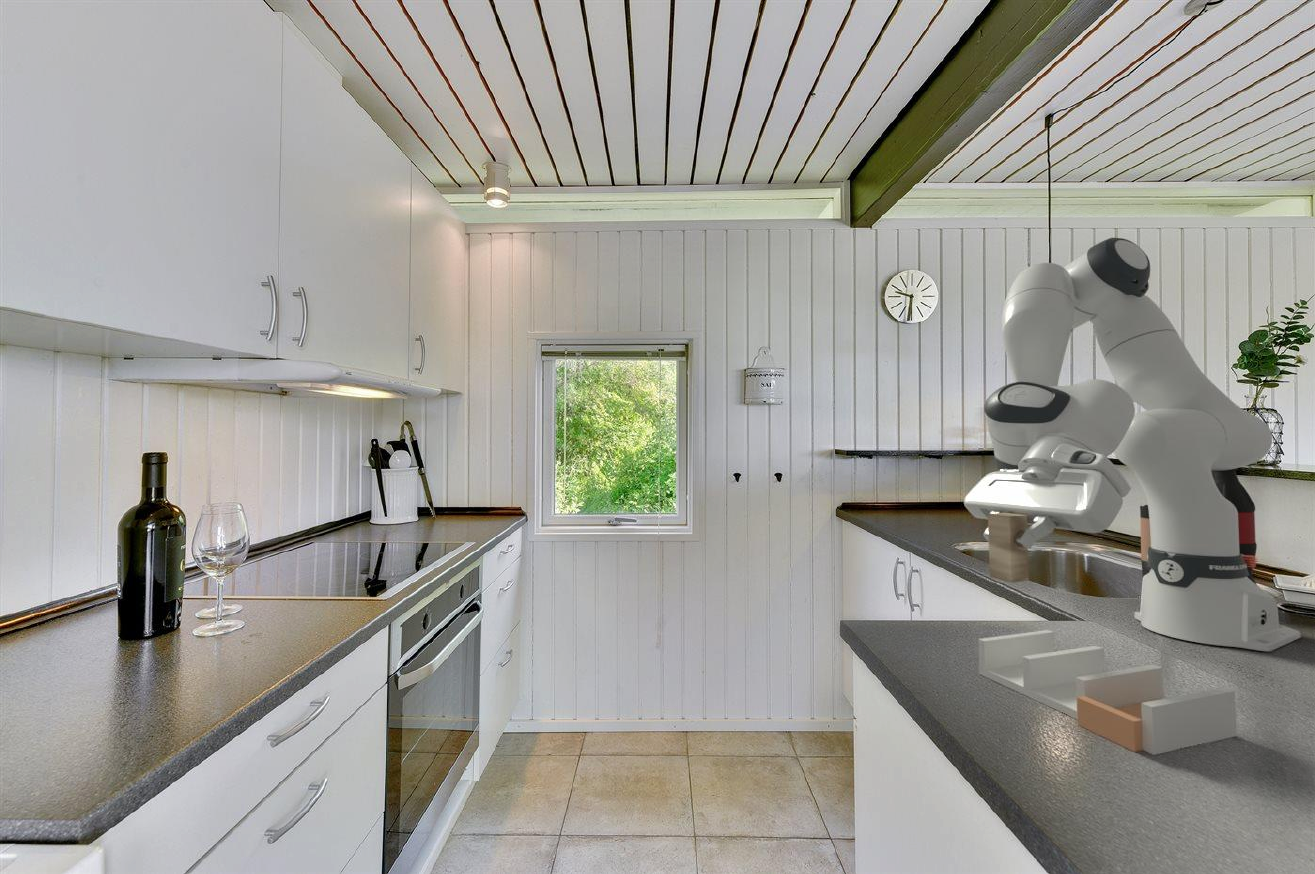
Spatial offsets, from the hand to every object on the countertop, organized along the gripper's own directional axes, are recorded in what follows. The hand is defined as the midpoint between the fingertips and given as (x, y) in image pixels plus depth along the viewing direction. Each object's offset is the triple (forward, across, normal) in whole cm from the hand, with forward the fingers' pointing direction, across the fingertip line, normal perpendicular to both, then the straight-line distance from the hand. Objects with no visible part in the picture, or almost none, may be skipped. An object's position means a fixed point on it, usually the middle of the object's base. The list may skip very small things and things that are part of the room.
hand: (1004, 542), depth 77 cm
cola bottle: (-39, -16, +67) cm, 79 cm away
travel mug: (-31, -20, +59) cm, 70 cm away
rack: (+10, +8, +17) cm, 21 cm away
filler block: (+3, 0, +4) cm, 5 cm away
